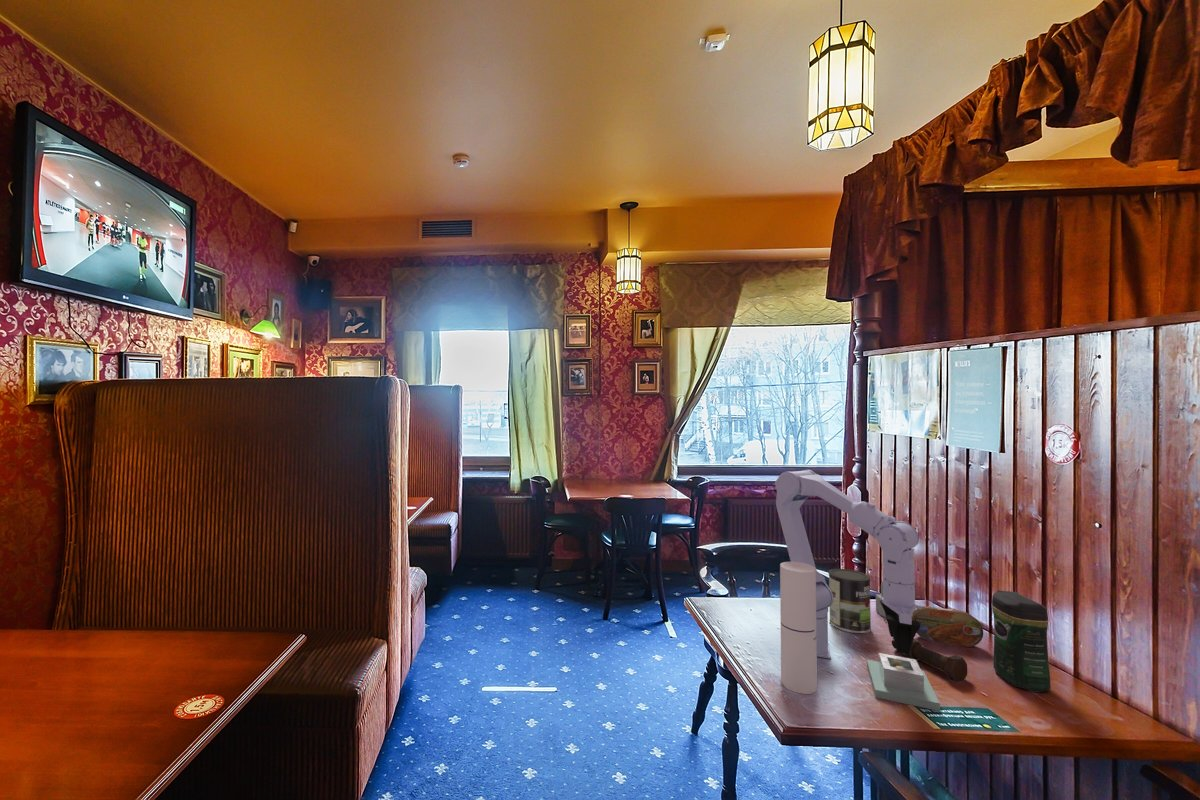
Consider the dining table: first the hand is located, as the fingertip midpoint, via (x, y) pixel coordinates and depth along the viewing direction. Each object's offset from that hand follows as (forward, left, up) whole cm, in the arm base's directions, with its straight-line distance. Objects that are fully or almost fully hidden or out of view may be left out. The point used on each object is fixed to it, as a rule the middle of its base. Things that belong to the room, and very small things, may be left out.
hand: (899, 644), depth 97 cm
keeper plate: (0, +1, -9) cm, 9 cm away
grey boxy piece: (0, +1, -8) cm, 8 cm away
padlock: (+4, +42, -10) cm, 44 cm away
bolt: (+8, +15, -10) cm, 19 cm away
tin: (+15, +30, -10) cm, 35 cm away
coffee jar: (+25, +15, -10) cm, 31 cm away
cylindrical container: (-20, -7, -10) cm, 23 cm away
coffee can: (-7, +30, -10) cm, 32 cm away
